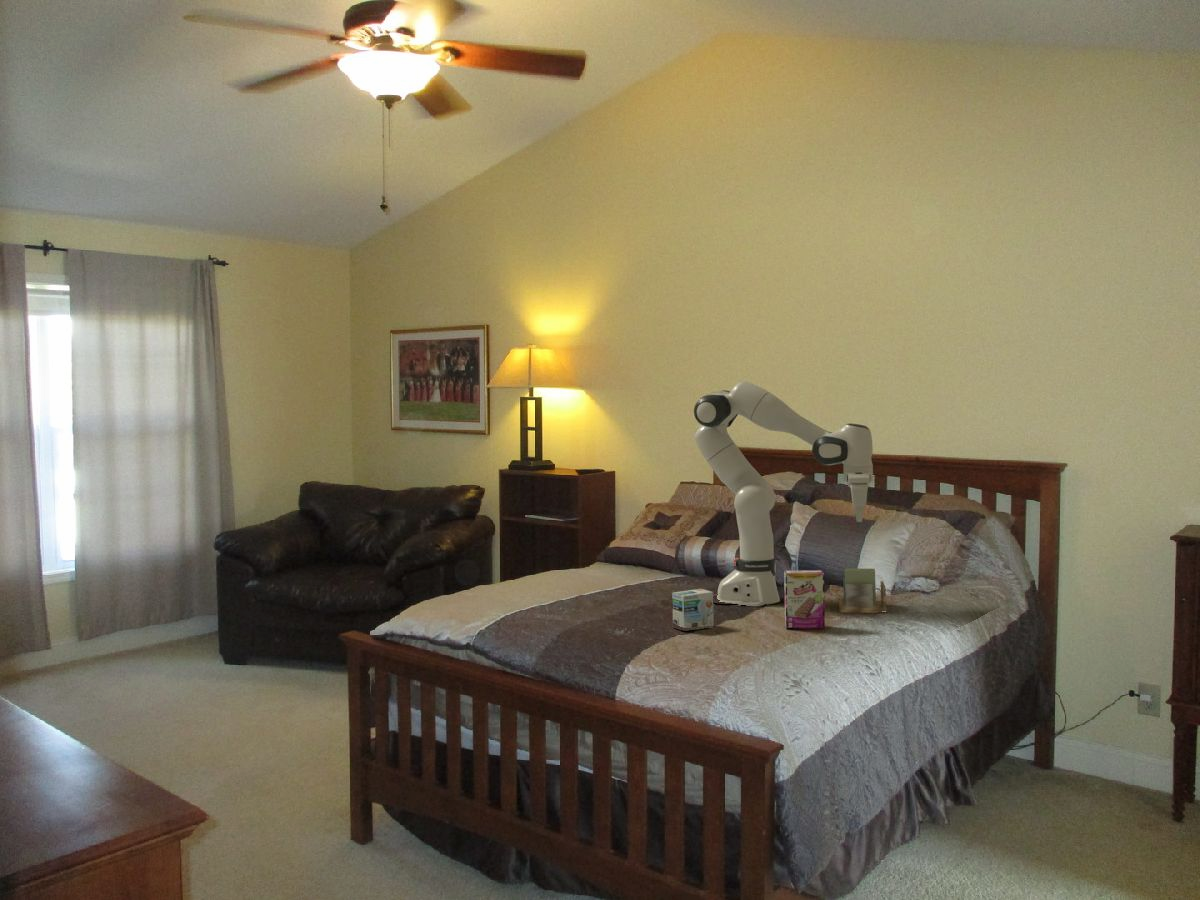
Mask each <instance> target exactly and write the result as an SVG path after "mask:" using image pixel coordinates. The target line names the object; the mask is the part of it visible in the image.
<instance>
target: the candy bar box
mask: <svg viewBox="0 0 1200 900" xmlns="http://www.w3.org/2000/svg"><path fill="white" fill-rule="evenodd" d="M783 575H784V576H783V581H784V582H783V583H784V585H783V587H784V591H783V592H784V626H785V628H793V629H792V630H825V626H826V624H825V623H826V622H825V619H826V616H825V615H826V614H825V610H826V609H825V608H826V607H825V573H824V571H823V570H784V572H783Z"/></svg>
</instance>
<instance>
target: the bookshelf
mask: <svg viewBox="0 0 1200 900" xmlns="http://www.w3.org/2000/svg"><path fill="white" fill-rule="evenodd" d="M842 581H843V582H842V583H843V598H841V599H839V598H838V607H839V613H859V614H860V613H861V614H862V613H864V614H870V613H871V614H872V613H873V614H879V613H878V612H882V611H888V609H887V593H886V590H887V589H886V586H885V583H884V580H880V599H876V606H873V587H872V584H846V595H845V577H843V579H842Z"/></svg>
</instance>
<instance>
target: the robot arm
mask: <svg viewBox="0 0 1200 900" xmlns="http://www.w3.org/2000/svg"><path fill="white" fill-rule="evenodd" d="M693 415H694V418H695V419H696V421H697V422H698V424H700V427H698V429H697V430H696V432H695V434H694V440H695V443H696V445H697V446H698V449H699V451H700V452H701V454H702V456H703V458H704V459H705V461H706V462H707V464H708V465H709V466H710V467H711V469H712V470H713V472H714V473H715V475H716V476H717V478H718V479H719V480H720V482H721V483H723V484H724V485H725V486H726V487H727V488H728V489H729V490H730V491H731V492H732V494H734V496H735V497H734V502H733V504H734V505H733V506H734V508H735V509H734V510H735V515H736V516H735V517H736V523H737V529H738V535H739V536H738V537H739V557H736V558H734V559H733V569H734V570H733V571H731V572H730V573H728V575H726V576H725V577H724V578H723V579H722V580H721V581H720V582H719V583H718V584H719V585H718V588H717V594H718V595H717V594H716V595H717V599H718V600H720V601H719V602H725V603H732V604H738V605H737V606H741V605H746V606H745V607H762V606H764V605H765V604H766V605H772V604H776V603H779V602H780V601H781V598H780V596H779V592H778V591H779V590H778V588H777V583H776V573H777V565H776V564H777V563H776V558H775V556H774V554H775V553H774V552H775V551H774V549H775V547H774V533H773V529H772V524H771V515H770V511H771V510H772V509H773V508H774V506H775V504H776V494H775V491H774V488H772V487H771V485H770V484H768V482H767V481H766V480H765V479H764V478H763V477H762V475H761V474H760V473H759V472H758V471H757V470H756V468H754V467H753V465H752V464H751V463H750V462H749V460H748V459H747V458H746V456H745V455H744V454H743V452H742V451H741V450H740V448H739V447H738V446H737V444H736V443H735V441H734V440H733V439H732V437H731V436H730V435H729V433H728V429H727V428H729V427H730V426H732V424H733V422H734V421H735V420H736V418H737V417H738V415H740V416H742V417H744V418H746V419H747V420H749V421H750V422H752V423H753V424H755V425H757V426H759V427H760V428H763V429H764V430H765V429H766V430H769V431H774V432H783V433H786V434H791V435H793V436H796V437H798V438H799V439H800V440H802V441H803V442H805V443H807V444H809V445H810V446H812V449H811V452H812V456H813V458H814V459H815V461H816V462H817V463H819V464H821V465H824V466H833V465H841V464H843V482H845V483H846V482H847V488H850V493H851V502H852V507H853V509H854V511H855V512H854V513H855V514H854V515H855V516H854V517H855V520H856V521H855V522H857V523H862V522H863V513H864V512H863V511H864V509H866V506H867V499H868V488H869V486H870V483H871V482H873V481H874V468H873V467H874V465H873V462H872V456H873V453H874V451H873V437H872V432H871V430H870V428H869V427H868V426H866V425H863V424H859V423H846V424H845V425H844V426H842V427H841V428H839V429H837V430H835V431H833V432H831V431H828V430H825V429H824V428H822V427H820V426H818V425H817V424H815V423H813V422H811V421H810V420H807V419H806V418H804V417H803V416H802V415H800V414H799V413H797V412H796V411H795V410H794V409H792V408H791V407H790V406H789V405H788V404H787V403H785V402H784V401H783V400H781V398H779V397H777V396H776V395H774V394H773V393H771V392H770V391H768V390H766V389H764V388H762V386H761V387H760V386H758V385H757V384H754V383H752V382H748V381H740V382H738V383H736V384H734V386H733V387H732V389H731V390H725V389H724V390H718V391H712V392H711V393H708V394H707V395H706V394H705V395H704V396H702V397H700V398H699V399H698V400H697V401H696V402H695V405H694V408H693Z"/></svg>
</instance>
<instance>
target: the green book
mask: <svg viewBox="0 0 1200 900" xmlns="http://www.w3.org/2000/svg"><path fill="white" fill-rule="evenodd" d="M844 578H845V595H846V584H872V587H873V606H876V600H877V599H876V597H877V596H876V592H877V590H876V570H875V568H846V567H845V568H844Z"/></svg>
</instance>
